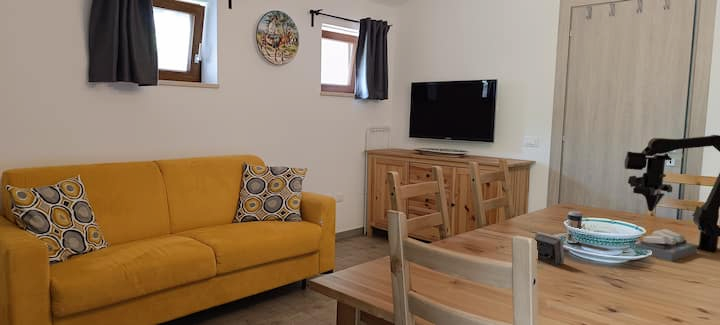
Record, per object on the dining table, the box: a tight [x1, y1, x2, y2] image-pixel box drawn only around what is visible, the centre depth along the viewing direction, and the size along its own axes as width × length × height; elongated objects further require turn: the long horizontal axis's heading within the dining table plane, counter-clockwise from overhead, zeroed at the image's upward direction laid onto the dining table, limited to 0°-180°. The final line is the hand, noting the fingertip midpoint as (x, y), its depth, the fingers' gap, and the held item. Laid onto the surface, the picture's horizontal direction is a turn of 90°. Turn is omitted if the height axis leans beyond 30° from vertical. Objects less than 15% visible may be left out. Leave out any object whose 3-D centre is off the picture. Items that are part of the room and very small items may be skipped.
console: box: [634, 239, 698, 262], centre depth 174 cm, size 20×12×4 cm, turn 125°
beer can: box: [565, 210, 583, 242], centre depth 181 cm, size 5×5×12 cm
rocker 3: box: [659, 228, 686, 242], centre depth 177 cm, size 4×7×2 cm, turn 34°
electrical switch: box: [532, 231, 565, 266], centre depth 158 cm, size 9×5×9 cm, turn 38°
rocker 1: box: [642, 235, 670, 244], centre depth 171 cm, size 4×7×2 cm, turn 35°
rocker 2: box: [650, 230, 678, 245], centre depth 174 cm, size 4×7×2 cm, turn 35°
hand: (650, 211), depth 185 cm, fingers closed
